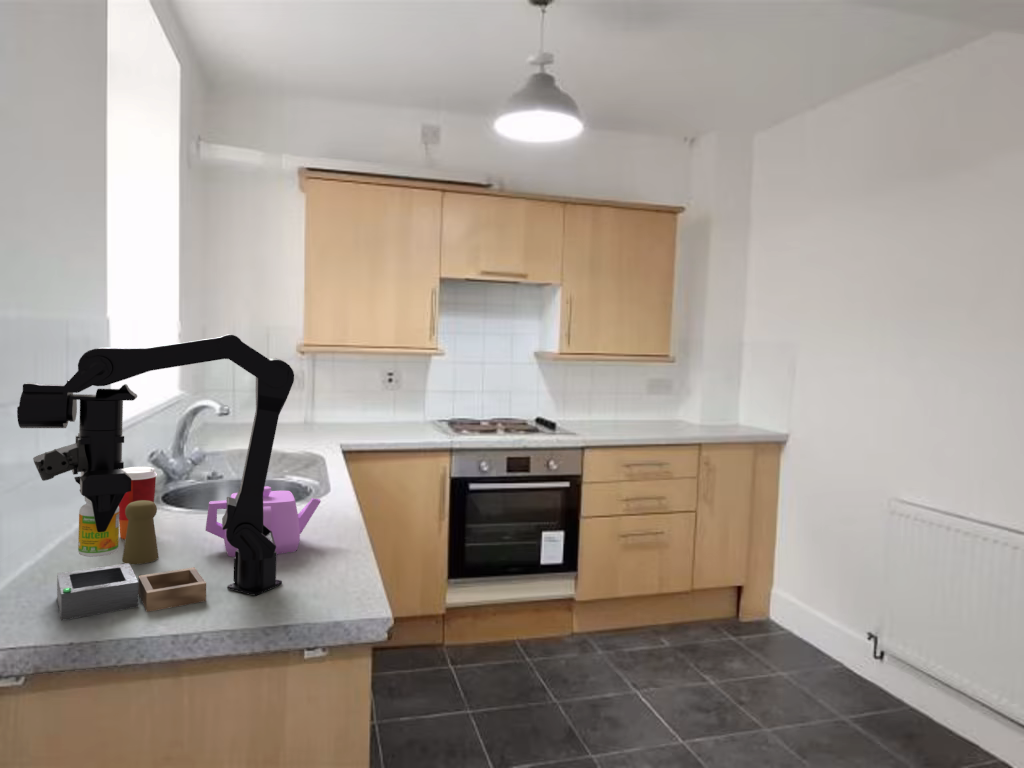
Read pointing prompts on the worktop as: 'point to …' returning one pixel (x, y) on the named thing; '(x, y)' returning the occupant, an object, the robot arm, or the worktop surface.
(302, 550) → the worktop surface
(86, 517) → the supplement bottle
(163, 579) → the wooden box
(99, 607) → the port
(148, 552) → the cork
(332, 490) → the worktop surface
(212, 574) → the worktop surface
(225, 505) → the teakettle
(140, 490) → the paper cup
